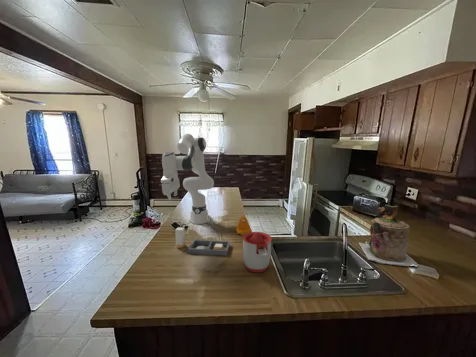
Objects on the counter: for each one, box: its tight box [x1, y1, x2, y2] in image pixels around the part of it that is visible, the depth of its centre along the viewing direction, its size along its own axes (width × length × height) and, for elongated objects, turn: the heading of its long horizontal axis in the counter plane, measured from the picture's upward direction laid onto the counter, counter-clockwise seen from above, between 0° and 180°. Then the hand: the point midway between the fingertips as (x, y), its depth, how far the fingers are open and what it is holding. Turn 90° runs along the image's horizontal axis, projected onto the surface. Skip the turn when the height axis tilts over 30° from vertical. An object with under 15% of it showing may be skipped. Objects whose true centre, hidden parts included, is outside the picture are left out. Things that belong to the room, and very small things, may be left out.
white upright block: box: [174, 226, 186, 249], centre depth 139 cm, size 6×6×12 cm
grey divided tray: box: [187, 239, 231, 257], centre depth 135 cm, size 13×24×3 cm, turn 85°
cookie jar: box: [358, 204, 420, 267], centre depth 127 cm, size 25×25×32 cm
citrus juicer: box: [242, 231, 273, 273], centre depth 114 cm, size 16×17×20 cm
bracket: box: [235, 215, 253, 236], centre depth 161 cm, size 11×7×12 cm, turn 98°
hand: (172, 197), depth 142 cm, fingers open, 8 cm apart
